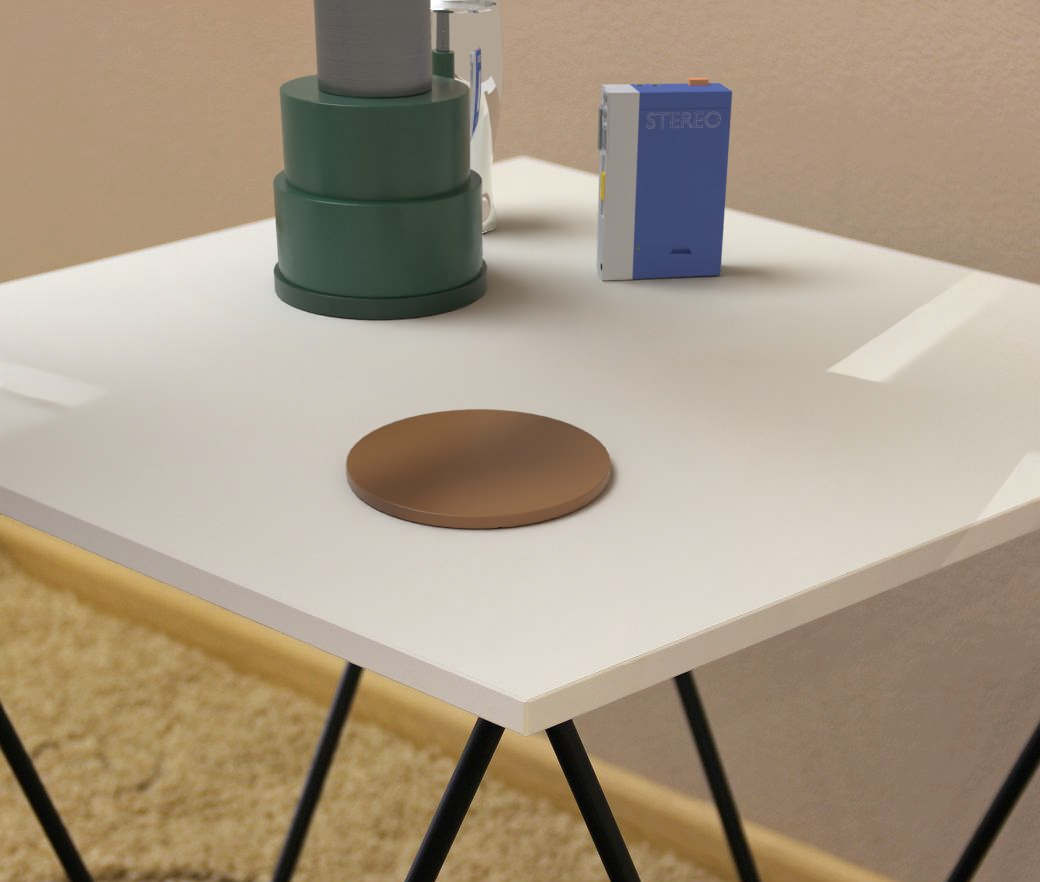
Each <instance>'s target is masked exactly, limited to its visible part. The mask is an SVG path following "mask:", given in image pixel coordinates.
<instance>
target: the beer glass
mask: <svg viewBox="0 0 1040 882" xmlns="http://www.w3.org/2000/svg"><path fill="white" fill-rule="evenodd" d="M503 31H504V30H503V22H502V3H501V2H500V1H499V0H431V54H432V75H437V76H442V77H447V78H451V79H455V80H458V81H460V82H463V83H465V84H466V85H468V87H469V88H470V169H472V170H474V171H475V172H477V173H478V174H479V175H480V176H481V178H482V232H485V231H489V230H491V229H493V228H494V229H496V228H497V226H498V215H497V208H496V202H495V198H494V192H493V191H494V190H493V179H492V178H493V177H492V176H493V175H492V174H493V161H494V153H495V146H496V140H497V134H498V130H499V123H500V117H501V111H502V106H503V105H502V103H503V95H504V85H505V48H504V32H503ZM494 229H493V230H494ZM491 231H492V230H491ZM489 232H490V231H489Z"/></svg>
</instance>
